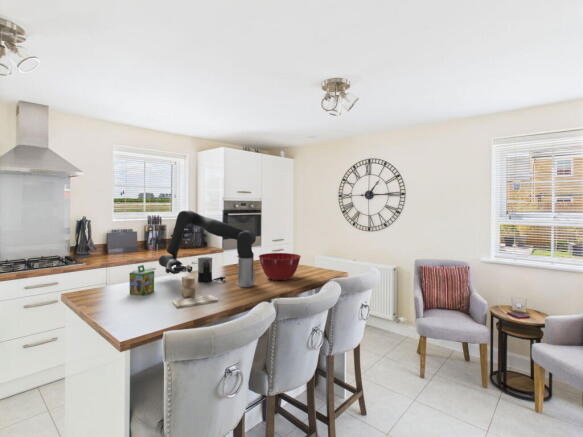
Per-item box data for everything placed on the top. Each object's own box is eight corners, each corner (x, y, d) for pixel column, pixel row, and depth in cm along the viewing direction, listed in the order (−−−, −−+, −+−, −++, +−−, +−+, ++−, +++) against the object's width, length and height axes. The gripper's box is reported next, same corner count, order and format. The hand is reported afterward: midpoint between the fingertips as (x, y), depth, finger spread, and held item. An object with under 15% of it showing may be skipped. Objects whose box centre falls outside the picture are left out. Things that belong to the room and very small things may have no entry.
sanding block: (190, 294, 167) (191, 275, 167) (194, 296, 162) (194, 278, 162) (181, 295, 164) (181, 276, 164) (184, 298, 159) (185, 279, 159)
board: (211, 296, 163) (211, 294, 163) (217, 301, 156) (218, 299, 156) (172, 303, 151) (172, 300, 151) (177, 308, 144) (177, 306, 144)
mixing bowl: (249, 277, 209) (250, 254, 208) (281, 271, 228) (282, 251, 227) (276, 286, 188) (277, 260, 187) (308, 279, 207) (309, 256, 207)
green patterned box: (143, 295, 162) (144, 267, 162) (128, 294, 164) (128, 266, 163) (155, 291, 171) (155, 264, 171) (140, 289, 173) (140, 263, 172)
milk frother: (194, 280, 196) (195, 257, 195) (217, 277, 206) (217, 255, 206) (205, 285, 185) (205, 261, 185) (228, 281, 196) (228, 258, 195)
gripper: (162, 260, 181) (169, 266, 168) (186, 259, 189) (195, 264, 176) (162, 273, 182) (169, 279, 168) (186, 271, 190) (194, 276, 177)
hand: (182, 271), depth 172 cm, fingers open, 8 cm apart
